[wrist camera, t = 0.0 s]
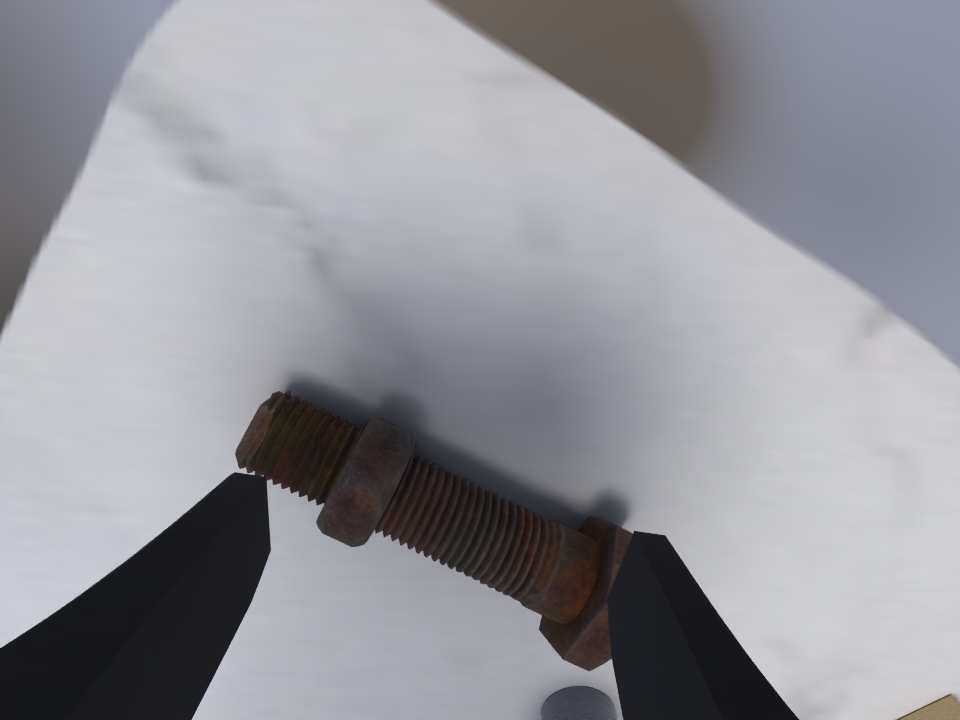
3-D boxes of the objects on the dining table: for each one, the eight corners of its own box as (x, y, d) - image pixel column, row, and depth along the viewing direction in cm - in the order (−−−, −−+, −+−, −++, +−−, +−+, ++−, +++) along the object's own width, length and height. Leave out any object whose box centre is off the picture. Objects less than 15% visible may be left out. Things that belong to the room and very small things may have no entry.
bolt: (300, 371, 23) (605, 523, 25) (238, 481, 22) (559, 632, 24) (276, 352, 18) (672, 551, 19) (192, 499, 17) (616, 695, 18)
